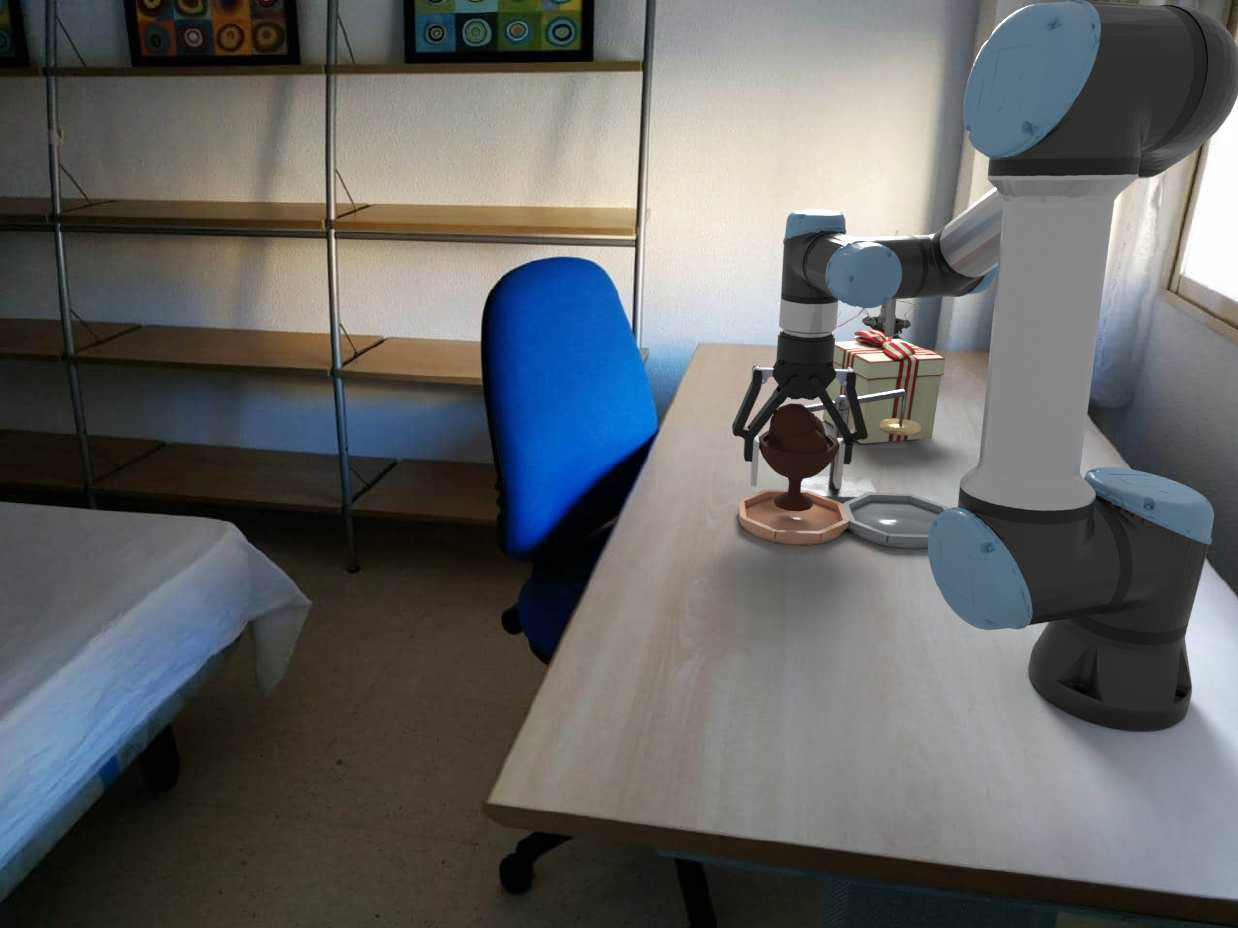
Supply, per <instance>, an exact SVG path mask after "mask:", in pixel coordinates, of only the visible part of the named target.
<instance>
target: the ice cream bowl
mask: <svg viewBox="0 0 1238 928" xmlns="http://www.w3.org/2000/svg"><path fill="white" fill-rule="evenodd" d="M805 406H806V405H804V404H802V403H791V402H790V403H787V404H783V405H780V406H779V408H778V409H777V410H776V411H775V413H774V414H773V415H772V417H771V418H770V419H769V428H768V430H766V431H765V432H764V433H762V434H761V435H760V436H758V438H759V449H760V450H759V452H760V453H761V456H762V458H763V459H764V461H765V462H766V463H767V465H768V466H769V467H770V468H771V469H772V470H773V472H775V473H776V474H778V475H779V476H782V477H785V478H787V481H788V487H787V490H788V491H787V492H785V493H782V494H779V495H778V496H777V497H776V498H775V500H774V503H775V505H776V506H777V507H779V508H781V509H784V510H786V511H798V512H799V511H805V510H809V509H810V508H811V507H812V506H813V502H812V500H811V499H810V498H809V497H808V496H806V495H804V494H803V493H801V482H802V480H803V479H805V478H810V477H813V476H818V475H819V474H820V473H821V472H822V471H823V470H825V469H826V468H827V467H828V466H830V464H831V462H832V460H833V459H834V457H835V455H836V454H837V450H838V447H839V443H838V442H837V441H836V440H835V439H834V438H833V435H830V434H827V433H826V430H825V427H824V426H825V425H824V423H823V421H822V420H821V419H820V418H819V417H818V416H817V415H815V414H814V412H811V410H810V409H808V408H807V407H805Z"/></svg>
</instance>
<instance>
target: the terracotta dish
mask: <svg viewBox="0 0 1238 928" xmlns="http://www.w3.org/2000/svg"><path fill="white" fill-rule="evenodd" d="M787 491H788V489H773V488H772V489H764V490H762V491H759V492H756V493H754V494H750V495H747V496H746V497H742V498H740V499H739V500H738V507H737V508H738V515H739V516H738V521H739V525H741V527H742V529H743V530H745V531H746V532H747V533H749V534H751V535H752V536H755V537H756V538H758V539H759V538H760V539H762V540H765V541H769V542H772V543H775V544H782V545H790V546H791V545H793V546H808V545H811V546H812V545H818V544H819V545H820V544H824V543H828V542H831V541H833V540H836V539H837V538H839V537H841V536H842V535H843V534H844V533H845V531H846V530H848V527H849V519H848V516H847V514H846V511H845V508H844V506H843V504H842V503H840V502H838V501H835V500H832V499H830V498H827V497H824V496H821V495H819V494H816V493H813V492H811V491H804V490H801V493H803V494H804V495H806V496H808V497H809V498H810V499H811V500H812V502H813V506H812V507H811V508H810V509H809V510H805V511H799V512H798V511H786V510H784V509H781V508H779V507H777V506H776V505H775V503H774V500H775V498H776V497H777V496H778V495H779V494H782V493H785V492H787Z"/></svg>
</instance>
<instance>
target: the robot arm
mask: <svg viewBox="0 0 1238 928" xmlns="http://www.w3.org/2000/svg"><path fill="white" fill-rule="evenodd" d="M1235 41H1236V40H1235V39H1234V37H1233V36H1232V34H1231V32H1230V31H1229V30H1228V28H1226V26H1225V25H1224V24H1223V23H1222V22H1221V21H1220V20H1218V19H1217V18H1215V17H1213V16H1212V15H1211V14H1209V13H1207V12H1206V11H1203V10H1200V9H1198V8H1194V7H1191V6H1187V5H1177V4H1161V5H1157V4H1156V5H1155V4H1140V3H1139V4H1138V3H1125V2H1107V1H1094V0H1066V1H1065V0H1064V1H1051V2H1040V3H1035V4H1031V5H1026V6H1025V7H1022V8H1020V9H1017V10H1016V11H1014V12H1013V13H1011V14H1010V15H1008V16H1007V17H1006V18H1005V19H1003V20H1002V21H1001V22H1000V23H999V24H998V25H997V26H996V27H995V29H994V30H993V31H992V33H991V34H990V37H989V38H988V40H987V41H985V42H984V43H983V45H982V46H981V48H980V50H979V52H978V54H977V56H976V58H975V60H974V62H973V65H972V67H971V69H970V73H969V75H968V78H967V81H966V82H967V83H966V85H965V86H966V87H965V91H964V97H963V107H962V108H963V110H962V112H963V114H962V115H963V124H964V128H965V130H966V131H967V132H969V134H968V137H967V138H968V140H969V142H970V144H971V146H972V147H973V148H974V149H975V150H976V151H978V152H979V153H981V154H983V155H984V156H985V157H987V158H988V166H987V167H988V169H987V181H988V182H989V183H990V184H991V185H992V186H993V188H992V189H990V190H989V191H988V192H987V193H985V194H984V195H983V196H981V197H980V198H979V199H978V200H976V201H975V202H974V203H972V204H971V205H970V206H969V207H967V208H966V209H965V210H963V211H962V212H961V213H960V214H959V215H957V216H956V217H955V218H953V219H952V220H951V221H950V222H948V223H947V224H946V225H944V226H943V227H941V228H940V229H939V230H937V232H934V233H932V234H920V235H918V234H916V235H900V236H898V235H895V236H896V237H895V236H875V237H874V236H873V237H872V236H871V237H855V236H852V235H847V230H846V229H847V228H846V217H845V216H844V214H843V212H840V211H838V210H837V211H836V210H829V209H800V210H794V211H792V212H791V213H789V215H787V218H786V225H785V233H784V238H783V240H782V243H783V250H782V251H783V252H782V254H783V255H782V270H781V271H782V273H781V288H780V289H781V290H780V291H781V292H780V305H779V319H778V327H779V328H781V329H780V330H779V331H778V333H777V343H776V344H777V346H776V358H775V363H774V365H772V367H761V366H760V365H758V364H756V365H755V364H754V365H753V366H752V367H751V381H750V384H749V385H748V389H747V390H746V392H745V395H744V397H743V400H742V401H741V405H740V407H739V409H738V411H737V413H736V416H735V418H734V420H733V423H732V425H731V430H732V434H733V436H735V437H740V438H742V439H743V440H744V441H743V442H744V443H743V459H744V462H746V463H747V462H748V463H749V462H750V470H749V473H750V474H749V481H750V486H751V487H757V484H758V472H759V471H758V467H759V454H760V453H759V452H760V450H759V435H758V434H759V433H760V432H761V431H762V429H764V427H765V426H766V424H767V423H768V422H769V421H770V420H771V417H772V416H773V415H774V413H775V411H776V410H777V409H778V408H779V407H781V406H782V405H784V403H785V401H787V398H789V399H790V400H800V399H801V400H802V399H805V400H807V401H809V400H810V401H814V400H815V399H819V400H820V403H823V405H824V406H825V408H826V410H827V411H828V413H829V415H830V416H831V418H832V420H833V422H834V423H835V425H836V427H837V428H838V430H839V432H840V433H841V435H842V437H843V439H842V438H837V442H838V443H839V447H838V450H837V454H836V455H835V464H834V474H833V483H834V486H835V488H836V489H841V484H842V477H843V471H844V465H851V463H852V458H853V457H852V456H853V448H854V447H853V446H854V445H855V443H856V442H858V441H857V440H860V439H862V440H865V439H866V438H867V437H868V433H867V430H866V426H865V422H864V419H863V415H862V411H861V408H860V404H859V401H858V397H857V393H856V390H855V386H856V373H855V371H854V370H853V368H851V367H847V368H846V369H834V366H833V359H834V348H835V342H836V335H835V333H834V332H833V331H835V330H836V329H837V328H836V327H837V325H838V318H837V316H838V314H839V313H838V310H839V302H841V303H843V304H846V305H847V304H848V305H847V306H851V307H854V308H855V307H857V308H858V307H859V308H862V309H863V308H866V309H875V308H878V307H881V305H882V304H884V303H885V302H887V301H889V300H892V299H896V300H902V299H903V300H904V299H906V300H908V298H909V299H918V298H939V297H941V298H942V297H944V298H945V297H951V298H959V297H964V296H967V295H976V294H980V293H982V292H985V291H987V289H988V288H989V287H990V286H992V282H993V280H994V279H995V278H996V283H995V293H994V305H993V313H992V323H991V324H992V325H991V333H990V347H989V355H988V366H987V375H986V376H987V377H986V387H985V397H984V398H985V399H984V409H983V417H982V429H981V439H980V447H979V448H980V449H979V459H978V463H977V465H976V466H974V467H973V468H972V469H970V470H969V471H967V472H966V473H965V474H964V475H962V476H961V478H960V480H959V491H958V500H957V506H953V507H950V508H949V509H946V510H945V511H943V512H941V513H940V514H938V516H937V517H936V519H935V520H933V522H932V524H931V527H930V530H929V535H928V548H927V553H928V554H927V555H928V561H929V565H930V569H931V573H932V576H933V579H934V581H935V582H934V583H935V584H936V586H937V587H938V589H939V591H940V594H941V595H942V598H943V599H944V600H945V602H946V604H947V605H948V606H949V607H950V609H951V611H953V612H954V613H955V614H956V615H957V616H958V617H959V618H960V619H961V620H962V621H964V622H965V623H967V624H968V625H970V626H972V627H975V628H976V629H980V630H985V631H995V630H1004V629H1006V630H1007V629H1012V630H1022V629H1025V628H1027V626H1031V625H1032V626H1033V625H1039V624H1045V623H1047V624H1046V626H1045V627H1044V629H1043V631H1042V632H1041V633H1040V636H1039V637H1038V639H1037V640H1036V642H1035V643H1034V644H1033V647H1032V650H1031V652H1030V657H1029V663H1028V667H1027V674H1028V677H1029V679H1030V682H1031V684H1032V685H1033V687H1034V688H1035V689H1036V691H1038V693H1040V695H1041V696H1042V697H1044V698H1045V699H1046V700H1047V701H1048V702H1050V703H1051V704H1053V705H1054V706H1056V707H1058V708H1059V709H1061V710H1063V711H1064V712H1067V713H1069V714H1070V715H1072V716H1076V717H1078V718H1080V719H1083V720H1085V721H1089V722H1090V723H1094V724H1097V725H1100V726H1101V725H1102V726H1105V727H1110V728H1115V729H1118V730H1119V729H1120V730H1129V731H1155V730H1162V729H1166V728H1170V727H1173V726H1175V725H1177V724H1179V723H1180V722H1181V721H1183V720H1184V719H1185V717H1186V716H1187V713H1188V710H1189V706H1190V703H1191V699H1192V695H1193V693H1192V692H1193V683H1192V678H1191V677H1192V676H1191V671H1190V666H1189V665H1190V664H1189V657H1188V651H1187V643H1186V635H1187V632H1188V626H1189V622H1190V619H1191V617H1192V616H1191V615H1192V610H1193V607H1194V603H1195V600H1196V596H1197V592H1198V588H1199V585H1200V581H1201V577H1202V574H1203V569H1204V565H1205V561H1206V557H1207V555H1208V551H1209V546H1210V545H1211V544H1212V541H1213V540H1212V537H1211V536H1212V531H1213V527H1214V526H1213V525H1214V518H1215V513H1214V508H1213V505H1212V504H1211V502H1210V501H1209V500H1208V499H1207V497H1205V496H1204V495H1203V494H1202V493H1200V492H1198V491H1197V490H1195V489H1194V488H1192V487H1189V486H1187V485H1185V484H1183V483H1181V482H1178V481H1175V480H1172V479H1171V478H1170V479H1169V478H1168V477H1164V476H1160V475H1156V474H1153V473H1149V472H1145V471H1140V470H1135V469H1131V468H1123V467H1117V466H1116V467H1115V466H1098V467H1094V468H1091V469H1089V470H1087V471H1086V473H1085V474H1084V475H1085V476H1084V477H1083V476H1082V474H1081V465H1082V457H1083V451H1084V441H1085V435H1086V434H1085V433H1086V425H1087V418H1088V411H1089V402H1090V395H1091V387H1092V378H1093V371H1094V365H1095V364H1094V363H1095V355H1096V348H1097V342H1098V341H1097V340H1098V339H1097V338H1098V332H1099V326H1100V325H1099V323H1100V316H1101V310H1102V309H1101V308H1102V302H1103V300H1102V299H1103V293H1104V285H1105V279H1106V278H1105V276H1106V269H1107V262H1108V261H1107V260H1108V254H1109V245H1110V237H1111V230H1112V223H1113V215H1114V205H1115V201H1116V199H1117V198H1118V196H1120V195H1121V193H1123V191H1125V190H1126V189H1127V188H1129V187H1130V186H1131V185H1132V184H1133V183H1134V182H1135V181H1137V180H1138V179H1149V178H1154V177H1157V176H1158V175H1160V174H1162V173H1163V172H1165V171H1166V170H1168V169H1169V168H1171V167H1173V166H1174V165H1176V164H1178V163H1179V162H1181V161H1182V160H1184V159H1185V158H1186V157H1188V156H1190V155H1192V154H1193V153H1194V152H1196V151H1197V150H1198V149H1200V148H1201V147H1202V146H1203V145H1204V144H1205V143H1207V141H1209V139H1211V138H1212V137H1213V136H1214V135H1215V134H1216V133H1217V132H1218V131H1219V130H1220V128H1221V126H1222V125H1224V123H1225V122H1226V120H1227V119H1228V117H1229V115H1231V112H1232V110H1233V108H1234V106H1235V104H1236V102H1237V100H1238V45H1237V43H1236V42H1235ZM771 377H773V379H774V381H775V382H776V383H777V386H776V388H774V390H773V391H772V394H771V395H770V396H769V398H768V399H767V401H766V402H765V403H764V405H762V406H761V408H760V410H759V411H758V412H757V414H756V415H755V416H754V417H753V418H752V419H751V421H750V423H749V424H748V425H747V426H746V424H747V421H748V419H749V417H750V415H751V413H752V410H753V408H754V405H755V404H756V401H757V399H758V397H759V394H760V392H761V390H762V385H764V384H766V383H768V380H769V378H771ZM835 378H837V379H839V382H840V384H841V385H842V386H844V389H845V393H846V396H847V400H848V403H849V407H850V411H851V414H852V418H853V421H854V425H855V429H852V430H849V428H848V426H847V425H846V423H845V421H844V419H843V418H842V416H841V414H840V413H839V411H838V409H837V408H836V406H835V404H834V403H833V401H832V399H831V398H830V396H829V394H828V392H827V391H826V388H827V387H828V386H829V385H830V384H831V382H832V381H833V380H834V379H835Z"/></svg>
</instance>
